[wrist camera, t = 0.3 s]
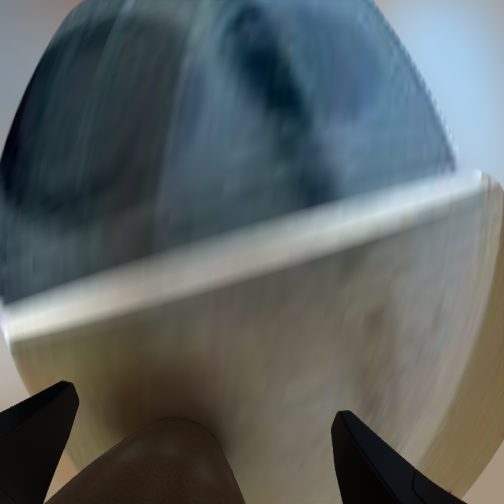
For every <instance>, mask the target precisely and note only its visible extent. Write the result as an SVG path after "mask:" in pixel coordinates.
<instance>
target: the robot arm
mask: <svg viewBox="0 0 504 504" xmlns="http://www.w3.org/2000/svg"><path fill="white" fill-rule="evenodd" d="M78 406H79V398H78V395H77V392H76V389H75V386H74V384H73V383H71V382H68V381H64V380H63V381H60V382H58V383H56V384H55V385H53V386H51V387H49V388H47V389H45V390H43V391H41V392H39V393H37V394H35V395H33V396H31V397H30V398H28V399H26V400H24V401H22V402H20V403H18V404H16V405H14V406H12V407H10V408H8V409H6V410H4V411H2V412H0V504H43V503H44V500H45V497H46V494H47V492H48V489H49V486H50V483H51V480H52V478H53V476H54V473H55V470H56V468H57V465H58V463H59V460H60V458H61V455H62V453H63V450H64V448H65V446H66V443H67V441H68V438H69V435H70V432H71V429H72V426H73V422H74V419H75V416H76V413H77V410H78ZM331 436H332V445H333V455H334V465H335V471H336V476H337V480H338V485H339V489H340V493H341V498H342V502H343V504H467V503H465V502H464V501H462V500H460V499H459V498H457V497H455V496H454V495H452V494H450V493H449V492H447V491H445V490H444V489H442V488H441V487H439V486H438V485H436V484H435V483H433V482H432V481H431V480H429V479H428V478H427V477H426V476H424V475H423V474H422V473H421V472H419V471H418V470H417V469H415V467H413V466H412V465H411V464H410V463H409V462H408V461H406V460H405V459H404V458H403V457H402V456H401V455H399V454H398V453H397V452H396V451H395V450H394V449H392V448H391V447H390V446H389V445H388V444H387V443H386V442H385V441H383V440H382V439H381V438H380V437H379V436H378V435H377V434H376V433H374V432H373V431H372V430H371V429H370V428H369V427H368V426H367V425H366V424H364V423H363V422H362V421H361V420H360V419H359V418H358V417H357V416H356V415H355V414H353V413H352V412H351V411H350V410H344V411H338V412H337V414H336V416H335V419H334V421H333V424H332V427H331Z"/></svg>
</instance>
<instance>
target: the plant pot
mask: <svg viewBox="0 0 504 504" xmlns="http://www.w3.org/2000/svg"><path fill="white" fill-rule="evenodd" d="M45 504H245V501H244V499H243V496H242V493H241V491H240V488H239V486H238V484H237V481H236V479H235V477H234V474H233V472H232V470H231V468H230V466H229V464H228V462H227V460H226V458H225V456H224V454H223V452H222V450H221V448H220V446H219V444H218V443H217V441H216V439H215V438H214V436H213V435H212V434H211V433H210V432H209V431H208V430H207V429H205V428H204V427H202V426H201V425H199V424H197V423H195V422H192V421H189V420H185V419H180V418H166V419H162V420H159V421H156V422H154V423H152V424H150V425H148V426H146V427H145V428H143V429H141V430H139V431H138V432H136V433H134V434H132V435H131V436H129V437H128V438H126V439H124V440H123V441H121V442H120V443H118V444H117V445H115V446H114V447H112V448H111V449H110V450H108V451H107V452H105V453H104V454H103V455H101V456H100V457H98V458H97V459H96V460H94V461H93V462H92V463H91V464H89V465H88V466H87V467H86V468H84V469H83V470H82V471H81V472H80V473H78V474H77V475H76V476H75V477H73V478H72V479H71V480H70V481H69V482H68V483H67V484H66V485H64V486H63V487H62V488H61V489H60V490H59V491H58V492H57V493H56V494H54V495H53V496H52V497H51V498H50V499H49V500H48V501H47V502H46V503H45Z"/></svg>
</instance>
